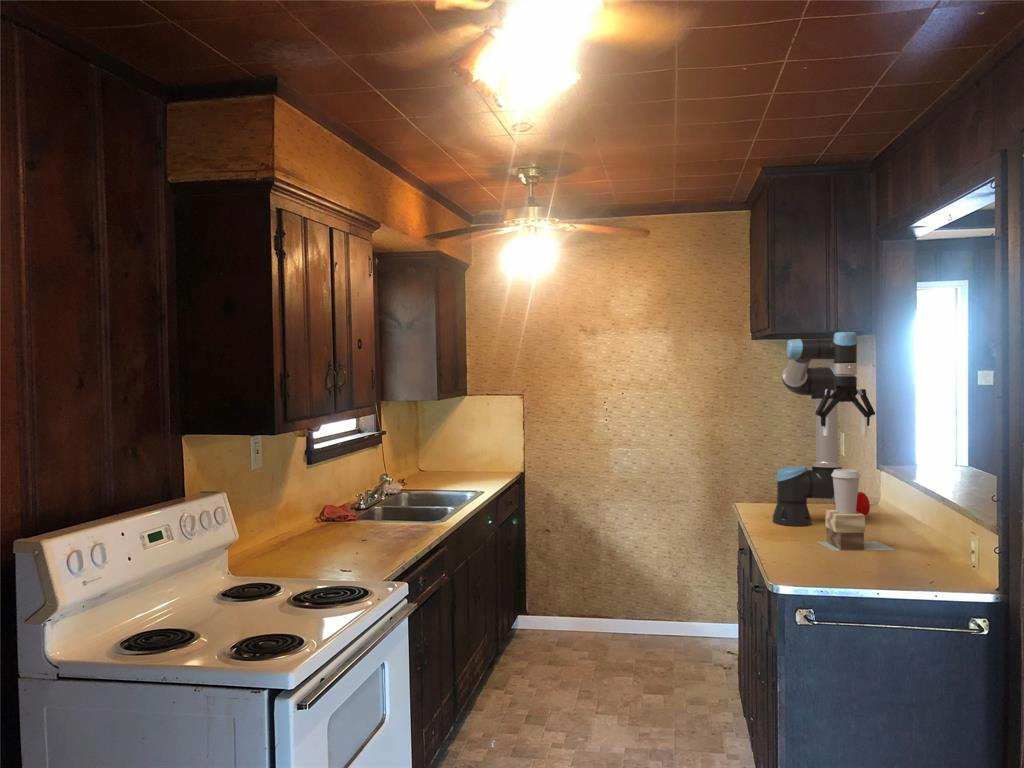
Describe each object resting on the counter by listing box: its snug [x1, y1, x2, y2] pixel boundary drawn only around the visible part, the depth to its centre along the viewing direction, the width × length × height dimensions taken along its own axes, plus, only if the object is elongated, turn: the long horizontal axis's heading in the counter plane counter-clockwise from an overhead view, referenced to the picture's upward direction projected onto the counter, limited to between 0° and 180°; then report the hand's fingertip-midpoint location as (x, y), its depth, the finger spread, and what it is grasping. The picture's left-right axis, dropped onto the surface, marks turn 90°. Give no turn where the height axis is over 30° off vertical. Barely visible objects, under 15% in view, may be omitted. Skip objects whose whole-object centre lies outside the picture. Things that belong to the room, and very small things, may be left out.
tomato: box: [834, 491, 871, 517], centre depth 326 cm, size 13×14×12 cm
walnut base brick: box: [826, 527, 865, 551], centre depth 269 cm, size 12×8×6 cm, turn 0°
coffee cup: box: [831, 468, 861, 514], centre depth 269 cm, size 10×10×15 cm
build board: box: [817, 540, 896, 552], centre depth 269 cm, size 13×22×1 cm, turn 90°
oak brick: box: [825, 509, 866, 534], centre depth 269 cm, size 10×10×6 cm
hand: (845, 435), depth 268 cm, fingers open, 13 cm apart
